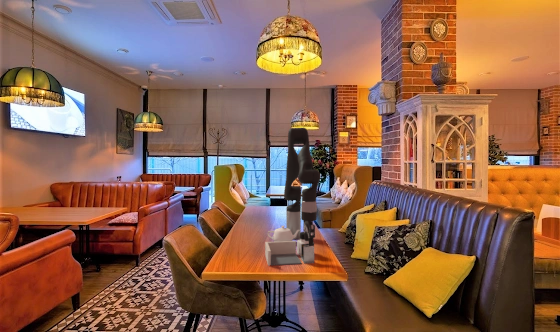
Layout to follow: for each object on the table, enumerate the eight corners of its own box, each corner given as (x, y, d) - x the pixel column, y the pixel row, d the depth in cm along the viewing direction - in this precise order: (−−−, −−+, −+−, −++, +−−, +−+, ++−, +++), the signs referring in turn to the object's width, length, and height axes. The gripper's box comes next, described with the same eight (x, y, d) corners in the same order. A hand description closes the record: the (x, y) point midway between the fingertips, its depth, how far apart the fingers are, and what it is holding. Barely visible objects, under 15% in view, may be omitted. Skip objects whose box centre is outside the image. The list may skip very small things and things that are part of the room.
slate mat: (267, 255, 154) (267, 254, 154) (295, 254, 156) (295, 253, 156) (270, 265, 140) (270, 264, 140) (301, 264, 142) (301, 262, 142)
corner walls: (265, 255, 155) (265, 242, 155) (295, 253, 157) (295, 240, 157) (268, 265, 140) (268, 251, 140) (301, 264, 142) (301, 249, 142)
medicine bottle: (301, 257, 152) (301, 234, 152) (296, 253, 159) (297, 231, 158) (314, 256, 154) (314, 233, 153) (309, 251, 161) (309, 230, 160)
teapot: (299, 239, 185) (299, 223, 185) (300, 245, 173) (300, 228, 172) (267, 239, 185) (267, 223, 185) (266, 245, 173) (266, 228, 173)
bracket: (300, 258, 151) (300, 242, 151) (310, 257, 152) (310, 242, 151) (304, 263, 143) (304, 247, 143) (314, 263, 144) (314, 246, 143)
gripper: (298, 208, 150) (298, 239, 150) (304, 213, 136) (304, 247, 136) (312, 207, 151) (312, 239, 151) (320, 212, 137) (320, 247, 137)
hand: (308, 243), depth 144 cm, fingers open, 8 cm apart
